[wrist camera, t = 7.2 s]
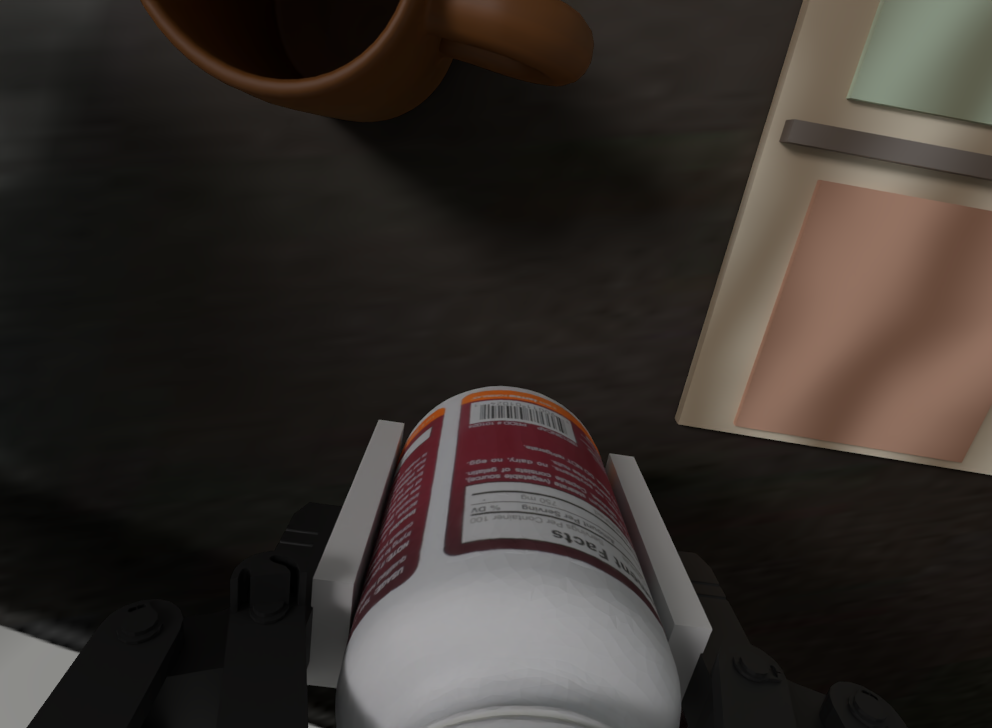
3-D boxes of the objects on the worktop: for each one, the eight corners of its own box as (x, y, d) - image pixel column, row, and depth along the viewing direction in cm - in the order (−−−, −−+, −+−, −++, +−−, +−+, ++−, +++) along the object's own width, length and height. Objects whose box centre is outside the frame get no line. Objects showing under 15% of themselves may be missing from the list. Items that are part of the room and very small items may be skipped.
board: (674, 418, 27) (682, 431, 26) (895, -301, 18) (923, -335, 17) (991, 470, 28) (1014, 484, 26) (1355, -201, 19) (1414, -226, 18)
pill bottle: (462, 578, 19) (425, 1089, 9) (361, 435, 17) (159, 875, 7) (632, 504, 18) (820, 984, 8) (546, 342, 16) (641, 694, 6)
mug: (602, -18, 21) (671, -145, 12) (534, 185, 24) (551, 202, 15) (285, -139, 20) (108, -374, 11) (250, 88, 22) (83, 43, 14)
